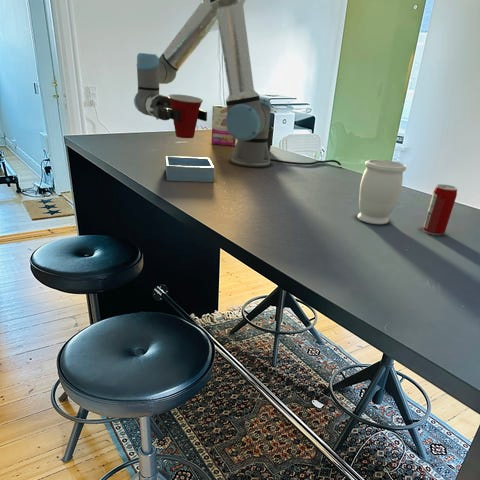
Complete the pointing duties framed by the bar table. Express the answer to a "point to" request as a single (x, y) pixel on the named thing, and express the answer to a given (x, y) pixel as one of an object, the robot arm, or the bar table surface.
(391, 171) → the jar
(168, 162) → the tray
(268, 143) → the pen holder
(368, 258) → the bar table surface
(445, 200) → the soda can
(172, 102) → the plastic cup
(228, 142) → the candy bar box
